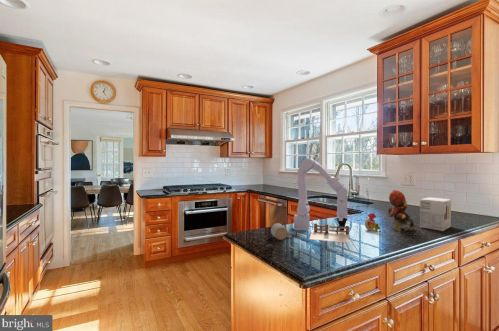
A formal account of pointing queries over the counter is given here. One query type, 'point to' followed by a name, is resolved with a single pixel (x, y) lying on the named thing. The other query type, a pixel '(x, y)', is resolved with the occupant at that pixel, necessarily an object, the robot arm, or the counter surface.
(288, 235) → the ceramic mug
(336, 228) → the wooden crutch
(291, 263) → the counter surface
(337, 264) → the counter surface
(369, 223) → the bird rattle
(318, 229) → the frame
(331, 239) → the card
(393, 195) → the stuffed monkey
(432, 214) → the supplement box
